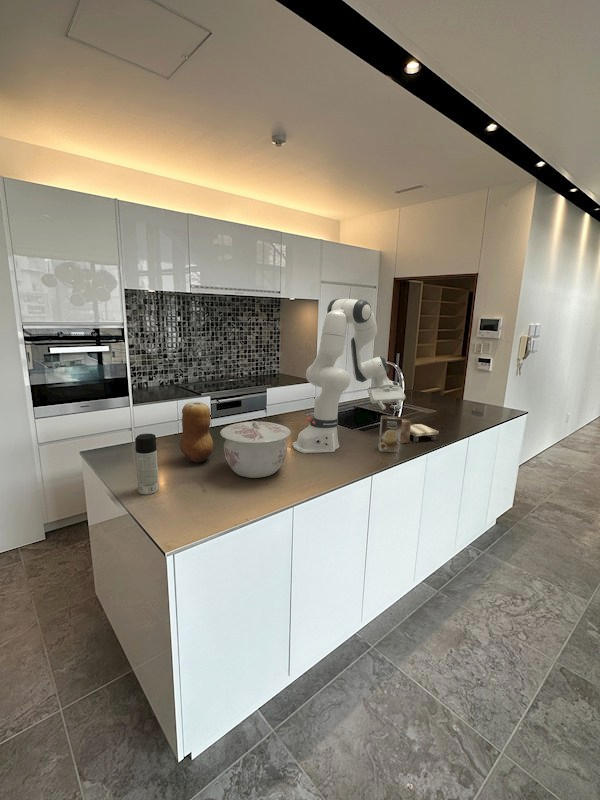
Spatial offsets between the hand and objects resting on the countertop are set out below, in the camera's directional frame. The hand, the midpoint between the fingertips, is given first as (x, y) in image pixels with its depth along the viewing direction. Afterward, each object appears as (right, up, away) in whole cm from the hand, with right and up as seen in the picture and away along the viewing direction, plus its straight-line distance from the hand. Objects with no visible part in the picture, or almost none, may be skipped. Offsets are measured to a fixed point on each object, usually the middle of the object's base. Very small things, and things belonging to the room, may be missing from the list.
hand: (392, 408), depth 203 cm
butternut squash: (-92, -21, -40) cm, 102 cm away
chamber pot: (-66, -24, -49) cm, 85 cm away
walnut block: (+3, -17, -7) cm, 18 cm away
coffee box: (-6, -19, -20) cm, 29 cm away
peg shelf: (+14, -15, 0) cm, 21 cm away
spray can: (-101, -27, -68) cm, 125 cm away
